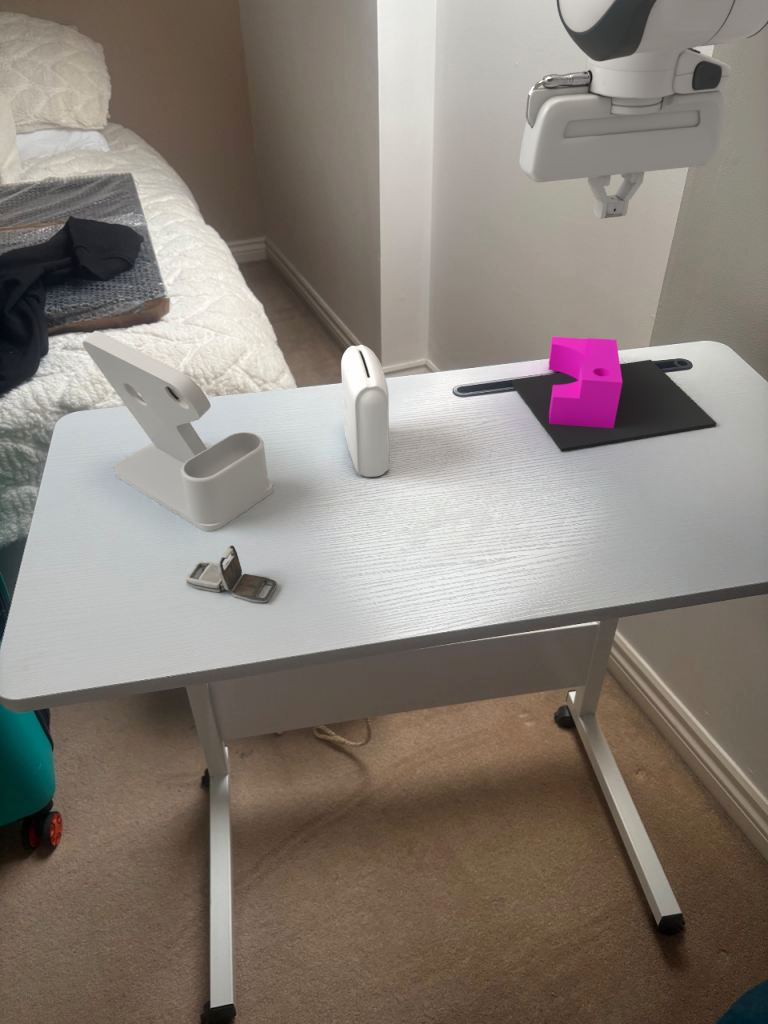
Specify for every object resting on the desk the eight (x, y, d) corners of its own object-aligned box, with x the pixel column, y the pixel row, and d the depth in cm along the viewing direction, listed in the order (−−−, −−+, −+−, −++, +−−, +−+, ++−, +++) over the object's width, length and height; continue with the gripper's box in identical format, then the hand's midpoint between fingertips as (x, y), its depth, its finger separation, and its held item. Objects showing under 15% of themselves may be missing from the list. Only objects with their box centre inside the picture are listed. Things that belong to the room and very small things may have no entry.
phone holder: (281, 489, 91) (264, 341, 79) (211, 537, 85) (182, 384, 73) (178, 433, 99) (149, 292, 88) (107, 473, 93) (67, 327, 82)
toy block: (622, 382, 95) (555, 378, 95) (613, 428, 99) (549, 423, 99) (613, 322, 106) (554, 319, 107) (606, 365, 110) (548, 362, 111)
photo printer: (341, 430, 100) (336, 337, 92) (376, 426, 100) (374, 333, 92) (355, 481, 92) (351, 384, 84) (393, 476, 92) (392, 379, 85)
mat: (650, 362, 112) (650, 359, 111) (715, 426, 100) (716, 422, 99) (510, 383, 108) (510, 379, 107) (561, 452, 96) (562, 448, 95)
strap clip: (184, 586, 79) (176, 553, 77) (199, 565, 82) (192, 533, 79) (266, 606, 77) (261, 573, 74) (279, 584, 79) (274, 551, 77)
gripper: (543, 83, 73) (527, 237, 82) (747, 67, 77) (712, 216, 86) (516, 68, 78) (504, 215, 87) (710, 54, 82) (680, 196, 91)
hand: (609, 215), depth 86 cm, fingers closed
